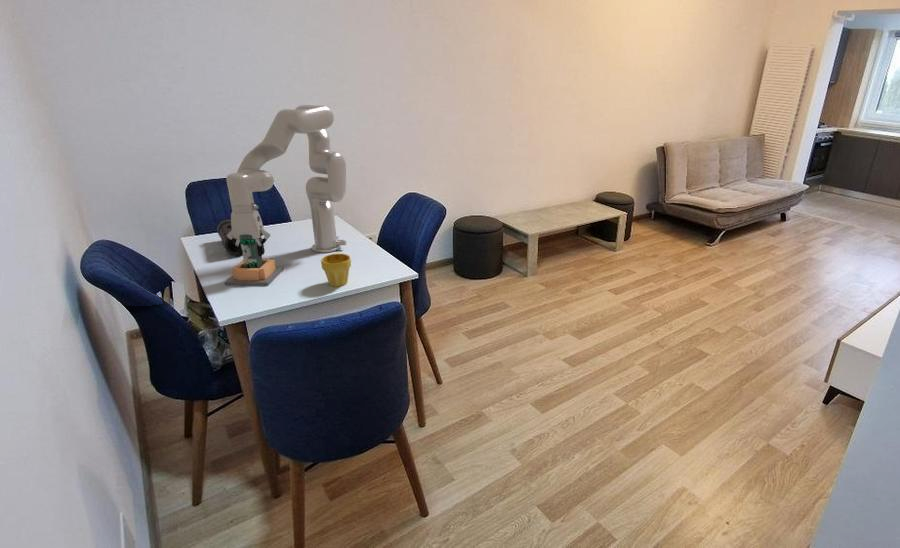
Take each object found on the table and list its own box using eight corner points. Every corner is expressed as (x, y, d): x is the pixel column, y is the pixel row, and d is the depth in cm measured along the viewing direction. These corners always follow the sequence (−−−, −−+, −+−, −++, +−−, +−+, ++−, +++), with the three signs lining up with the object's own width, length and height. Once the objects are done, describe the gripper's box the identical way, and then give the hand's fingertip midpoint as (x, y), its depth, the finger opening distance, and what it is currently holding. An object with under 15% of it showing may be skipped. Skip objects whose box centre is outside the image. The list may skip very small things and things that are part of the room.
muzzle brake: (226, 259, 192) (221, 235, 188) (219, 241, 214) (214, 219, 210) (250, 255, 196) (246, 232, 192) (240, 237, 218) (237, 216, 214)
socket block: (284, 269, 181) (282, 256, 179) (268, 285, 166) (265, 272, 164) (244, 268, 182) (242, 256, 180) (224, 285, 167) (222, 272, 165)
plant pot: (338, 291, 162) (335, 265, 158) (317, 284, 167) (314, 259, 163) (358, 281, 170) (356, 256, 166) (338, 275, 175) (335, 251, 171)
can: (243, 271, 173) (235, 234, 167) (257, 266, 177) (250, 229, 171) (252, 275, 169) (245, 237, 163) (267, 270, 174) (260, 232, 168)
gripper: (271, 205, 167) (278, 251, 174) (224, 205, 167) (234, 251, 174) (263, 211, 160) (271, 258, 167) (214, 210, 160) (224, 258, 168)
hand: (252, 254), depth 171 cm, fingers closed on can, 6 cm apart
